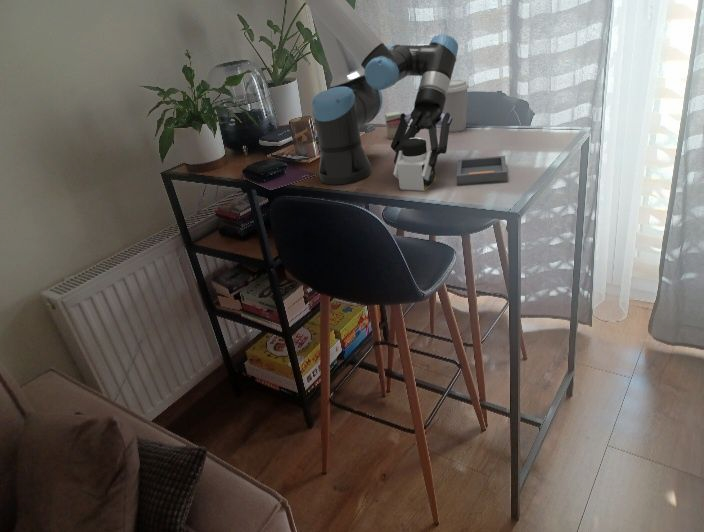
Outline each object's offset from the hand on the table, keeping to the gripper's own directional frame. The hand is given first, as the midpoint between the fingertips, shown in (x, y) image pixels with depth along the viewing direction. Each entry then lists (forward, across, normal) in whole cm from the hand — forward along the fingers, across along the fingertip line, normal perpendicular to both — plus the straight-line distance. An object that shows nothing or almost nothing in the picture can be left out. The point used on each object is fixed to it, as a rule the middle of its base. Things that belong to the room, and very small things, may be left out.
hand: (410, 177), depth 130 cm
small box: (-28, +27, -33) cm, 51 cm away
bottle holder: (-7, -14, -12) cm, 19 cm away
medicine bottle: (0, 0, -5) cm, 5 cm away
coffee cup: (-34, +9, -39) cm, 52 cm away
